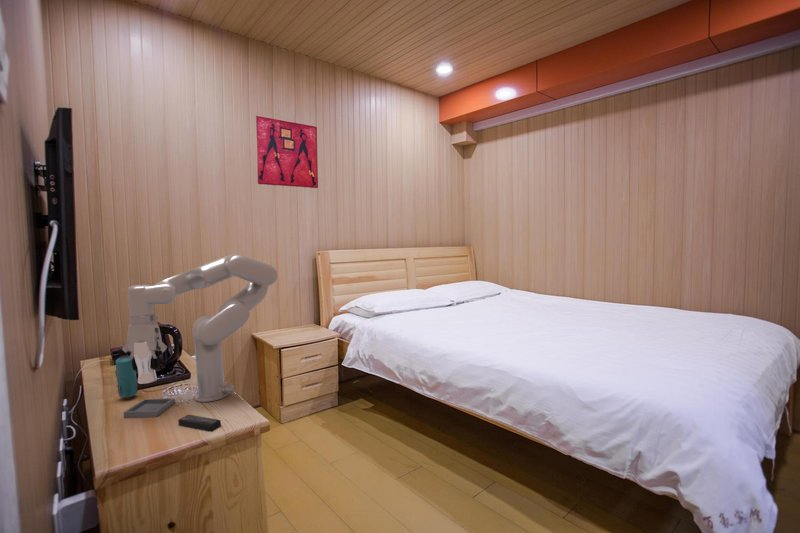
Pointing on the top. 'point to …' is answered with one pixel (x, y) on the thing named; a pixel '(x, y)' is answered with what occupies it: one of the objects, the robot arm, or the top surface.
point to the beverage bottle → (125, 376)
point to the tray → (149, 408)
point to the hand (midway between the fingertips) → (146, 368)
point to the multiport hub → (199, 422)
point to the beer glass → (144, 363)
